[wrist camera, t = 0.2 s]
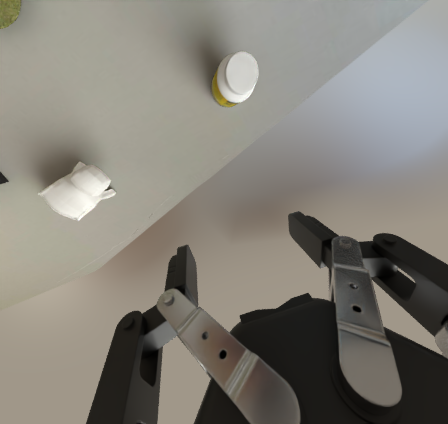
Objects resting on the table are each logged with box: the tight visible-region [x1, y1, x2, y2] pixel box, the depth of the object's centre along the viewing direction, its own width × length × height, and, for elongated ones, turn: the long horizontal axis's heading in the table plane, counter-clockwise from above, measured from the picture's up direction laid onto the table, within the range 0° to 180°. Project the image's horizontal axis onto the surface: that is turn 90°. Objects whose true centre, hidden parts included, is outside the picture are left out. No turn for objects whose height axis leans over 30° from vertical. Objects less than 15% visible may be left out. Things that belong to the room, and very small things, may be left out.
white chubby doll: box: [38, 161, 117, 221], centre depth 33 cm, size 9×8×15 cm
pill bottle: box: [211, 51, 258, 107], centre depth 28 cm, size 6×6×11 cm
